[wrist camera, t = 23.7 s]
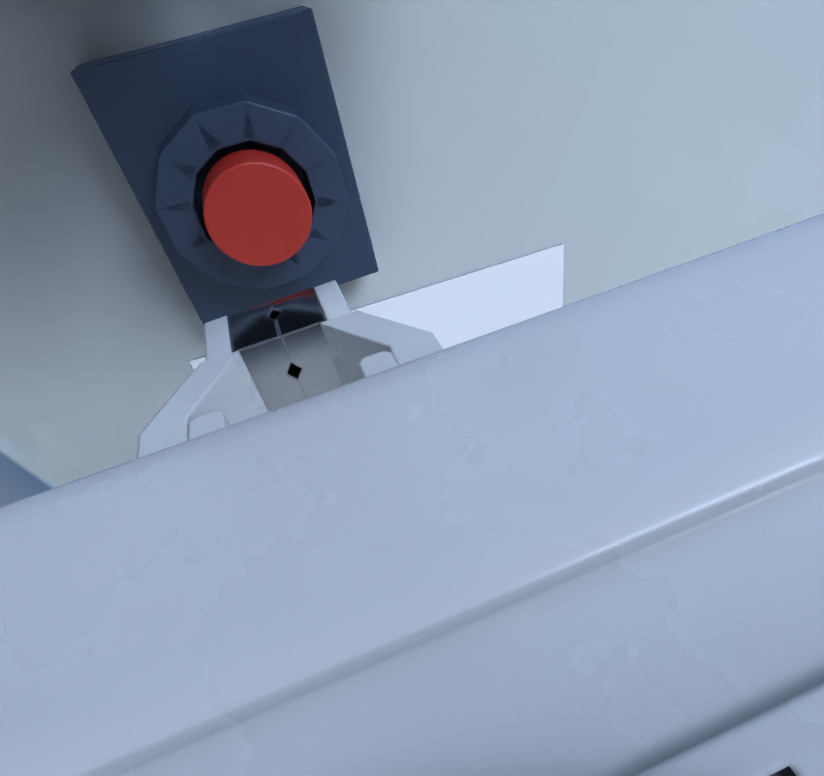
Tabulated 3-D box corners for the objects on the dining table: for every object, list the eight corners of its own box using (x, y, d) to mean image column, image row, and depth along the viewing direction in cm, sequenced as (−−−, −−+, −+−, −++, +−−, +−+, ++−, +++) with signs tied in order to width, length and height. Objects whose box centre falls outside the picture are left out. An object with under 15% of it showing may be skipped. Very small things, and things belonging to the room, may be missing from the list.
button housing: (77, 64, 18) (59, 80, 16) (303, 5, 19) (321, 10, 17) (204, 311, 25) (206, 351, 22) (369, 256, 26) (389, 289, 23)
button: (183, 165, 18) (183, 180, 17) (286, 135, 19) (293, 148, 18) (227, 260, 21) (229, 280, 19) (316, 231, 21) (325, 249, 20)
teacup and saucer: (438, 353, 31) (466, 396, 27) (454, 449, 36) (478, 495, 33) (286, 404, 29) (298, 455, 26) (325, 496, 34) (338, 547, 31)
